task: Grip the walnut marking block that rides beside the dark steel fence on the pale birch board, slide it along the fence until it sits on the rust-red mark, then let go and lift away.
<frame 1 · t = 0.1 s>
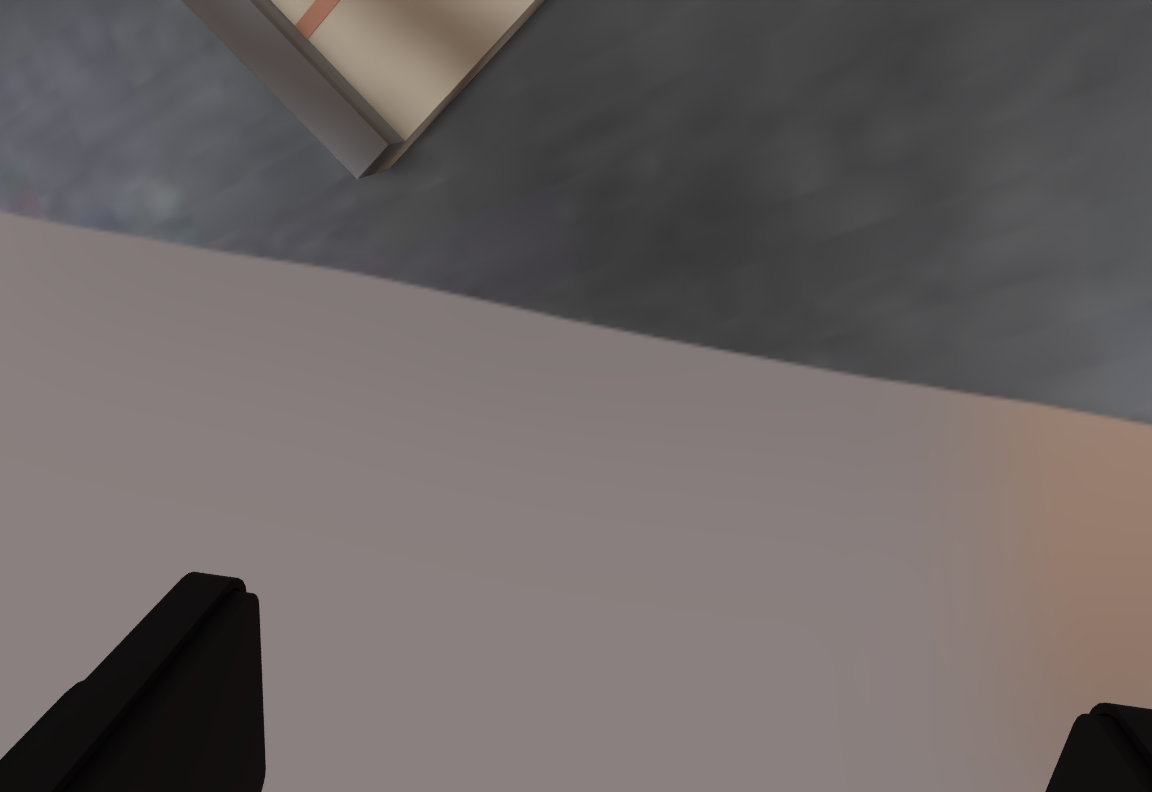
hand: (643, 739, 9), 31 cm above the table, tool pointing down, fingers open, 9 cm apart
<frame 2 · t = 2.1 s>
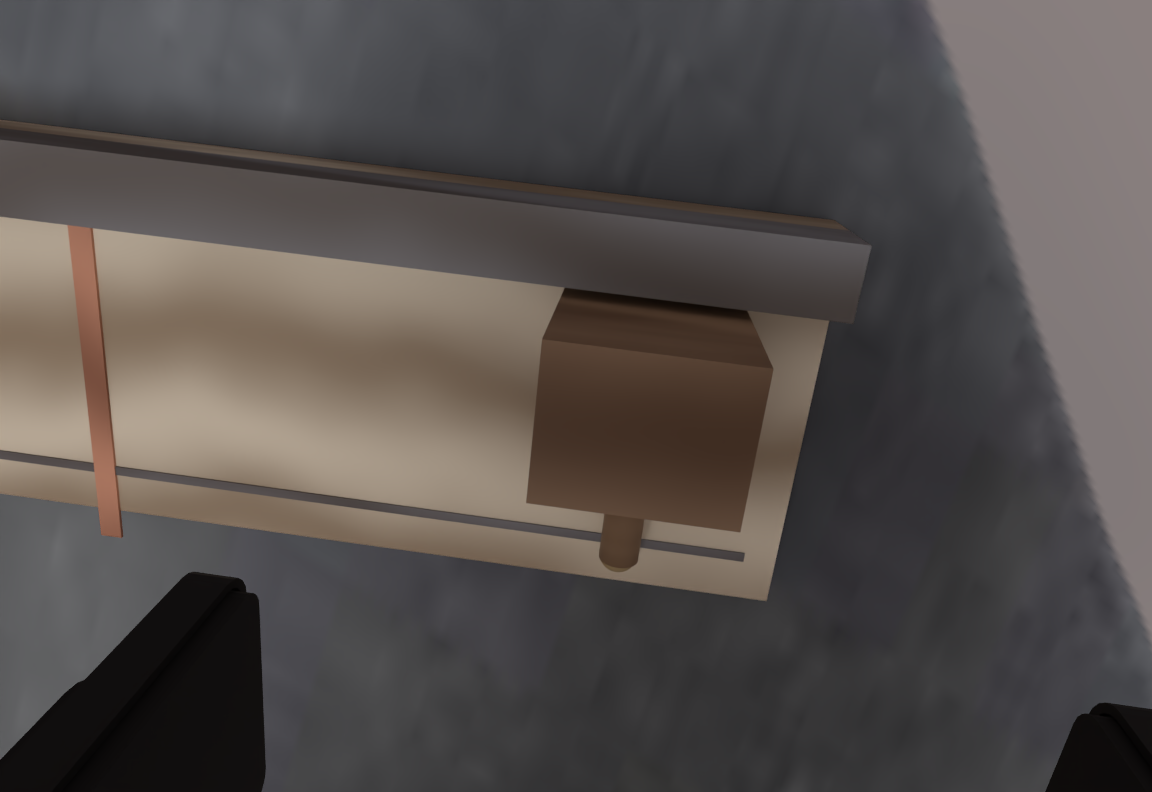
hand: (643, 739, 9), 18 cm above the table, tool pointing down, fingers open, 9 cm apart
brown block with peg: (632, 476, 22), point 5 cm above the table, slide at -9.0 cm
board: (366, 352, 27), on the table
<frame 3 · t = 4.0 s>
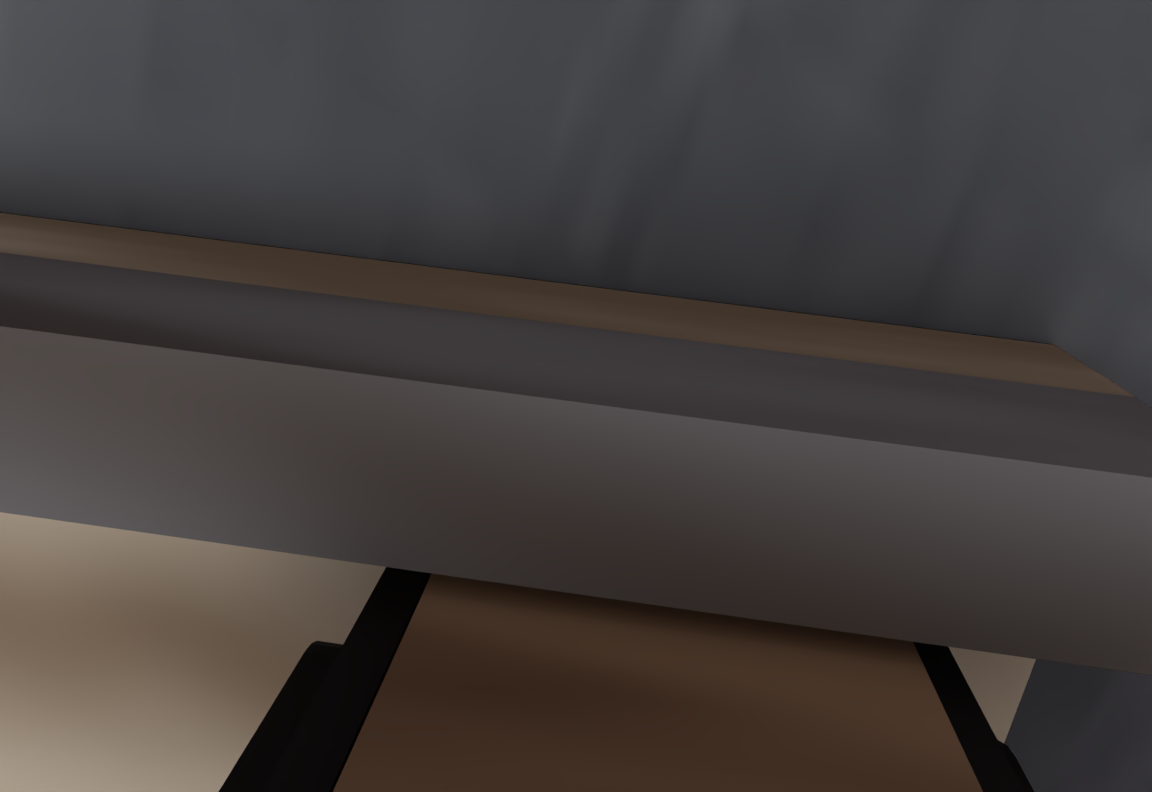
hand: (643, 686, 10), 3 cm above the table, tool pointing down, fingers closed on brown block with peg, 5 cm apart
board: (104, 575, 14), on the table
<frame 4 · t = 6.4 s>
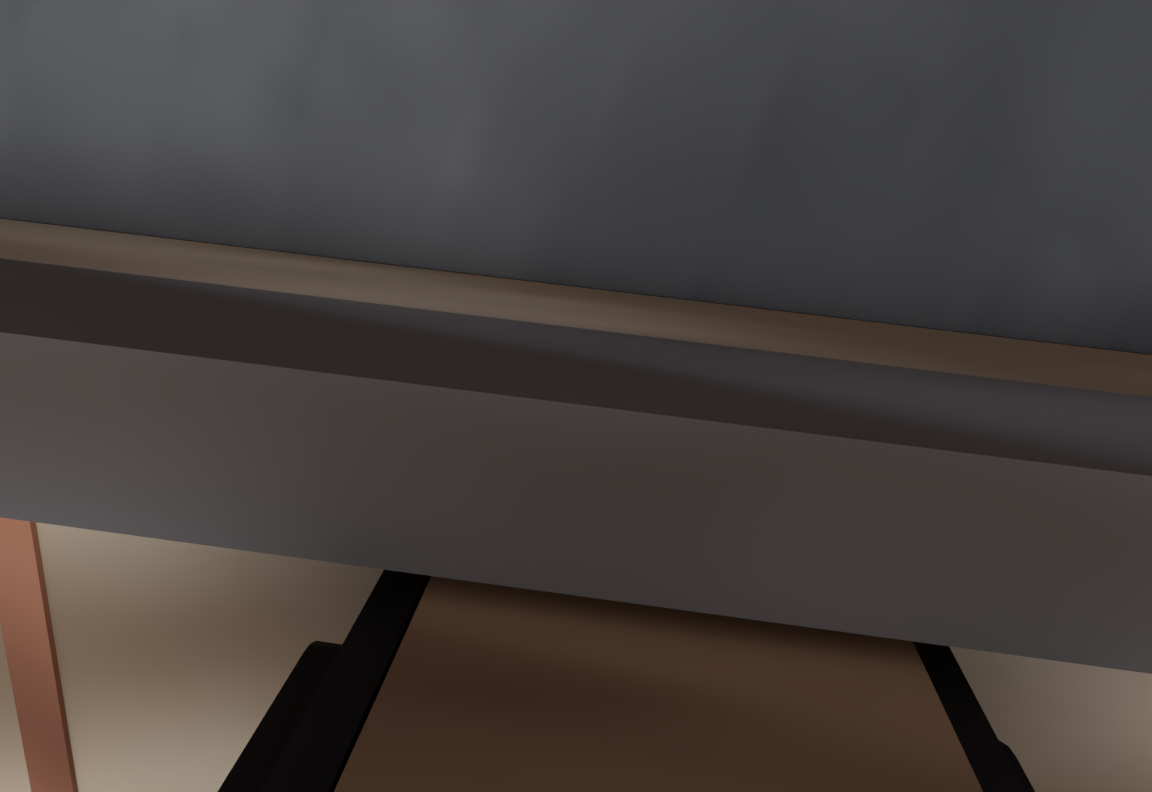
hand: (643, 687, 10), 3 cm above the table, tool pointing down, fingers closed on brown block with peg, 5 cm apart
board: (584, 646, 14), on the table
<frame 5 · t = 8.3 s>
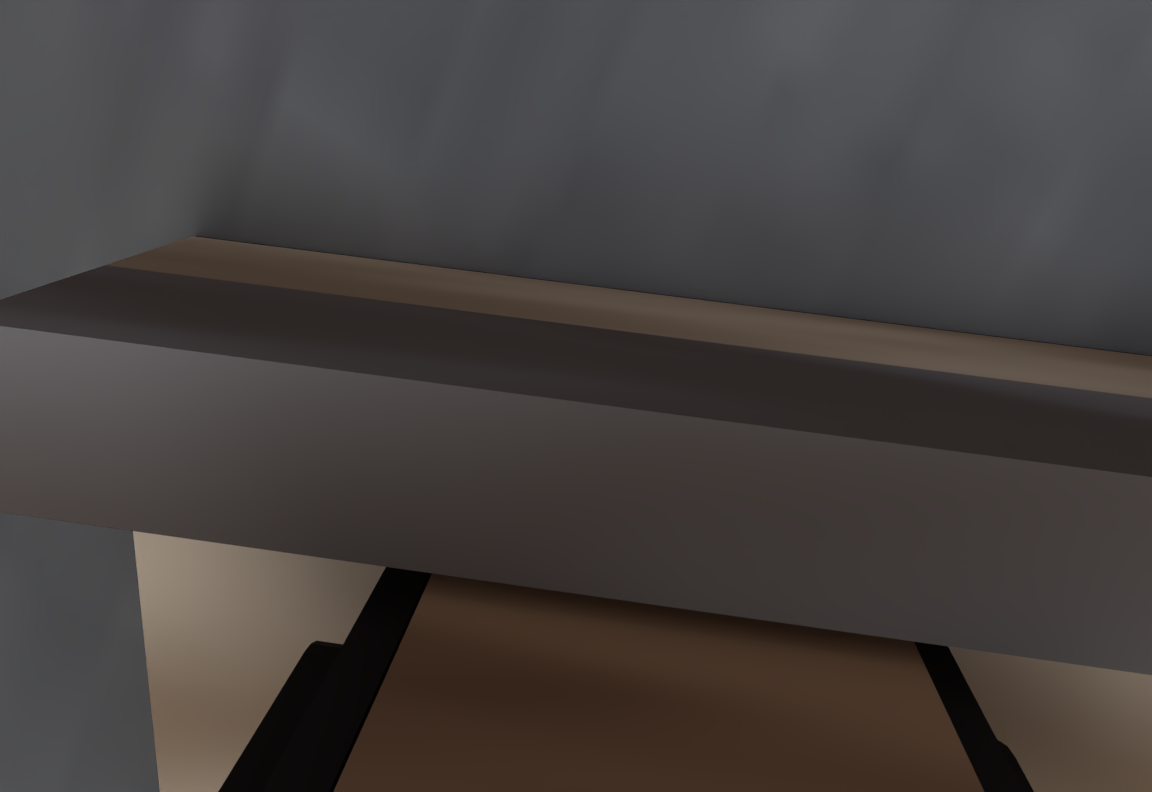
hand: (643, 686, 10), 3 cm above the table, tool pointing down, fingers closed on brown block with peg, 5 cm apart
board: (1060, 713, 13), on the table
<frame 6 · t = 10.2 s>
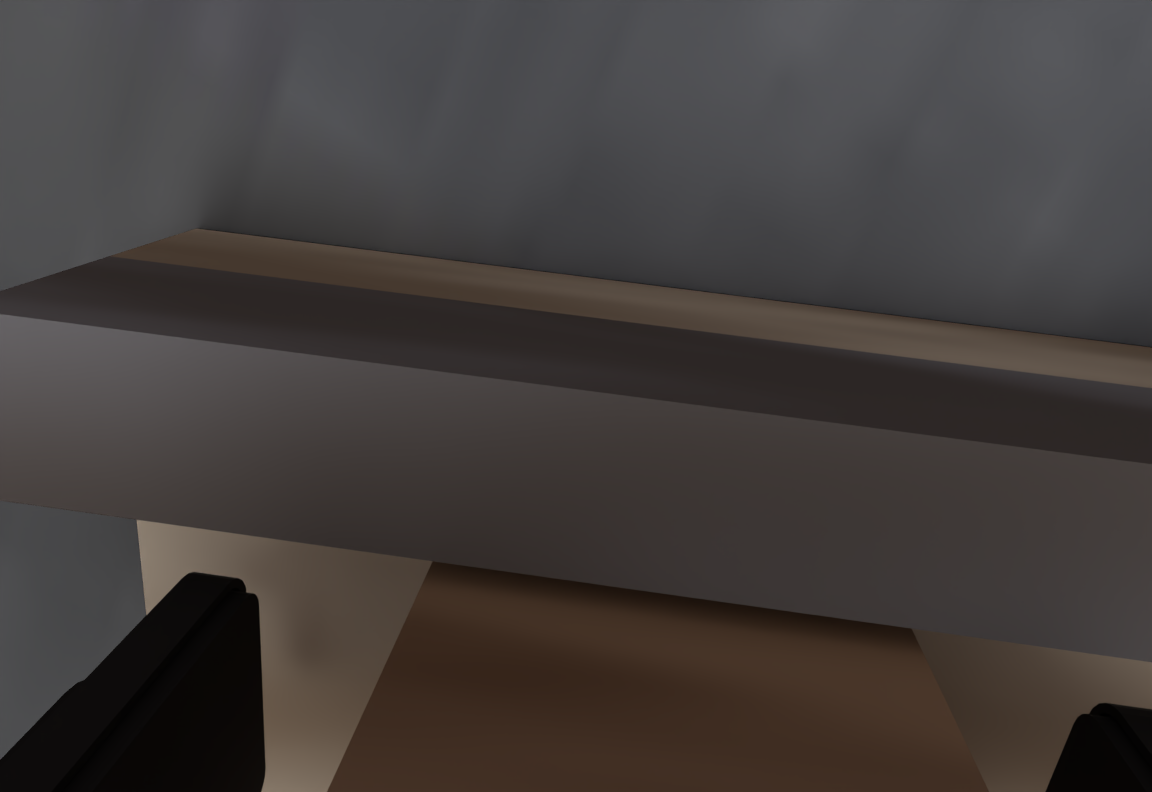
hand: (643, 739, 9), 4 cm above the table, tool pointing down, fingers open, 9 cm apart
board: (1060, 704, 13), on the table
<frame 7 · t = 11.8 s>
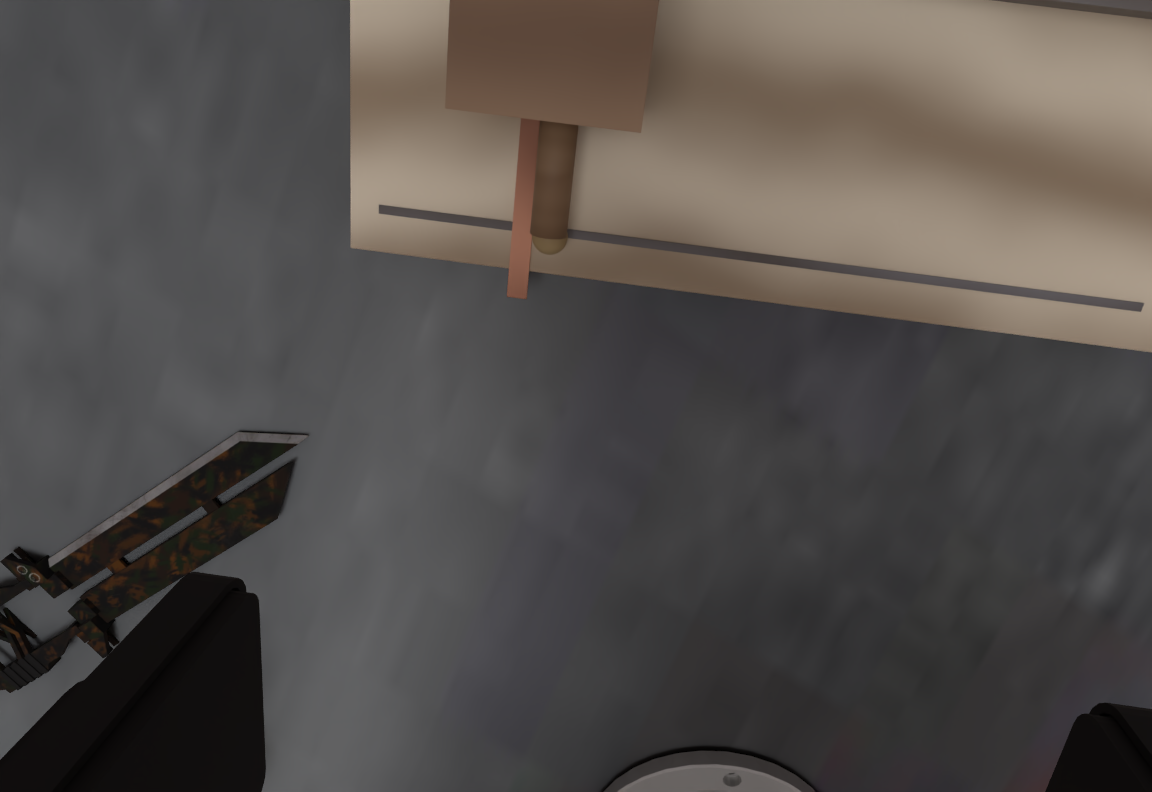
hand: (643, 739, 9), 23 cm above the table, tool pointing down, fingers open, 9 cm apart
brown block with peg: (553, 125, 24), point 5 cm above the table, slide at 7.0 cm
knife: (115, 554, 39), on the table
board: (774, 113, 28), on the table
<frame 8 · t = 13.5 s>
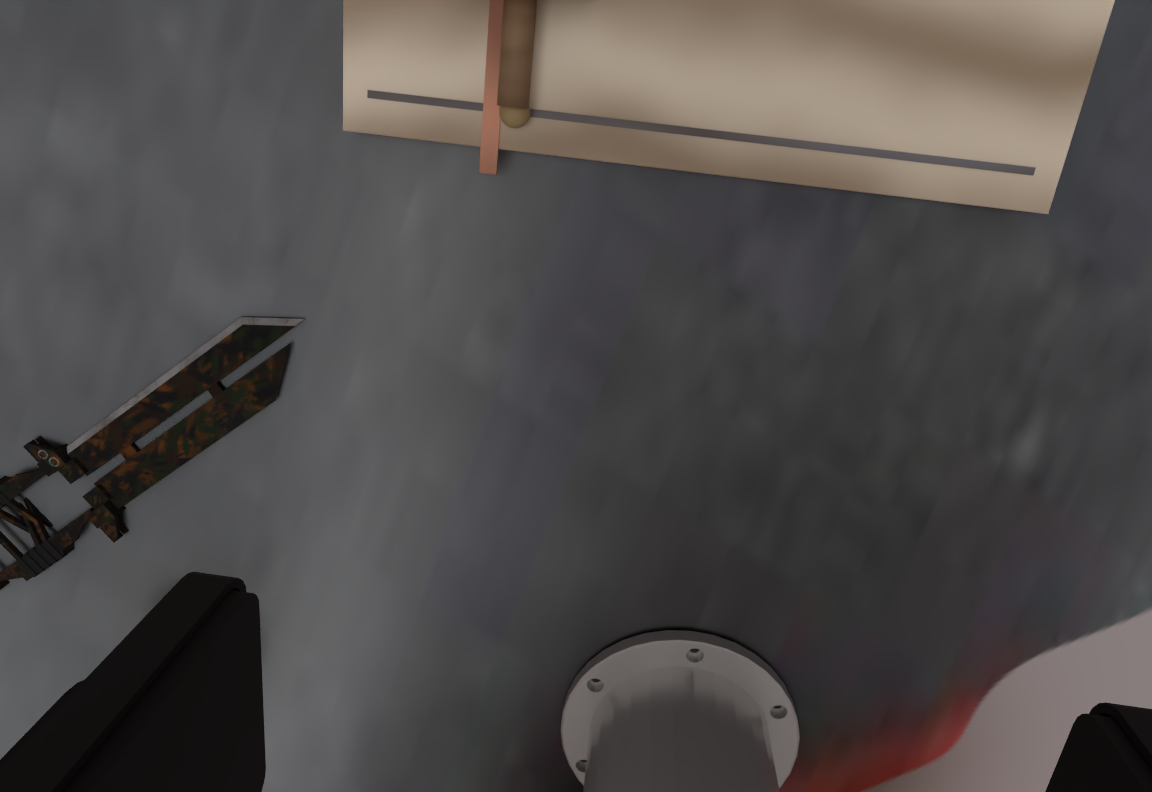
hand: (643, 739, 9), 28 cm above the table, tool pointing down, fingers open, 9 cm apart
knife: (127, 444, 42), on the table
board: (710, 9, 32), on the table
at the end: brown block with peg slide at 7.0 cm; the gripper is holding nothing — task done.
